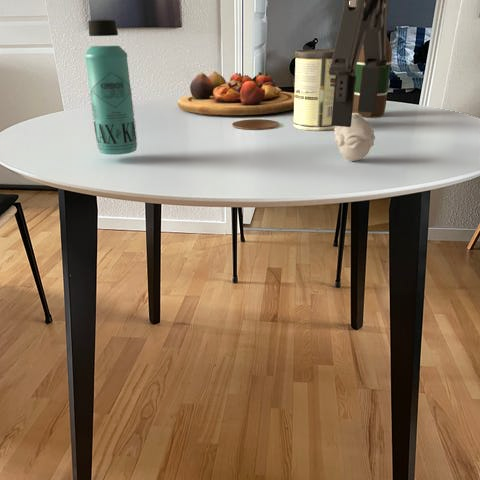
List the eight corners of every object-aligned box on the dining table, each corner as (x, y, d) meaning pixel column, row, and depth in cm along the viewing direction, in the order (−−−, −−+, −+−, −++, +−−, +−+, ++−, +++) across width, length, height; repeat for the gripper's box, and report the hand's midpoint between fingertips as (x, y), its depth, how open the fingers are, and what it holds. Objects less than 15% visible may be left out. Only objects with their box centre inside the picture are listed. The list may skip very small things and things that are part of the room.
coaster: (286, 123, 109) (286, 121, 108) (267, 131, 101) (267, 129, 101) (245, 119, 113) (245, 118, 112) (224, 127, 105) (223, 125, 105)
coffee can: (306, 120, 111) (309, 48, 104) (349, 124, 106) (356, 49, 99) (283, 128, 104) (285, 51, 96) (328, 132, 99) (335, 52, 91)
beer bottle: (353, 117, 113) (366, -9, 100) (348, 112, 119) (359, -8, 107) (388, 117, 113) (405, -10, 100) (381, 111, 119) (396, -9, 107)
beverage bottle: (93, 159, 83) (70, 19, 73) (129, 153, 87) (112, 18, 76) (109, 166, 79) (88, 19, 68) (147, 159, 82) (131, 18, 72)
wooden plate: (306, 117, 114) (308, 77, 110) (168, 118, 115) (165, 79, 111) (298, 97, 141) (300, 65, 137) (187, 99, 143) (185, 66, 138)
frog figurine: (353, 153, 84) (358, 108, 80) (381, 162, 78) (387, 115, 75) (323, 157, 82) (327, 112, 78) (350, 167, 76) (355, 118, 73)
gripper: (369, -44, 77) (353, 105, 88) (313, -62, 58) (302, 130, 69) (420, -46, 74) (396, 108, 85) (378, -67, 55) (355, 135, 66)
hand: (354, 118), depth 77 cm, fingers open, 13 cm apart
